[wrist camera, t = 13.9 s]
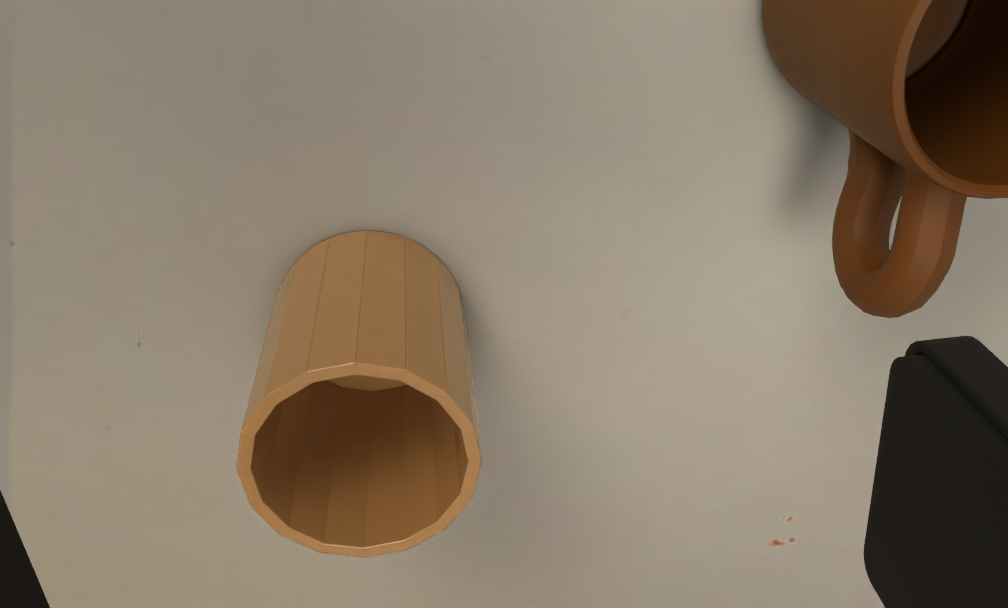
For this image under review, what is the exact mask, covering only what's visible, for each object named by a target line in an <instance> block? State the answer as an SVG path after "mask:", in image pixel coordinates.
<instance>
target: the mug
mask: <svg viewBox="0 0 1008 608" xmlns="http://www.w3.org/2000/svg"><path fill="white" fill-rule="evenodd" d="M762 20H763V29H764V34H765V38H766V42H767V45H768V48H769V50H770V53H771V55H772V57H773V59H774V61H775V63H776V65H777V66H778V68H779V70H780V72H781V73H782V74H783V75H784V77H785V78H786V79H787V80H788V82H789V83H790V84H791V85H792V86H793V87H795V88H796V89H797V90H798V91H799V92H800V93H801V94H802V95H803V96H805V97H806V98H807V99H809V100H810V101H811V102H813V103H814V104H816V105H817V106H819V107H820V108H822V109H823V110H825V111H826V112H827V113H828V114H830V115H831V116H832V117H833V118H834V119H836V120H837V121H838V122H840V123H841V124H843V125H844V126H845V127H847V128H848V129H849V135H850V154H849V160H848V174H847V178H846V181H845V184H844V187H843V190H842V193H841V195H840V198H839V202H838V205H837V209H836V213H835V219H834V224H833V235H832V247H833V258H834V264H835V271H836V274H837V277H838V280H839V283H840V285H841V287H842V289H843V291H844V292H845V294H846V296H847V297H848V298H849V299H850V300H851V301H852V302H853V303H854V304H855V305H856V306H857V307H858V308H860V309H861V310H862V311H863V312H865V313H868V314H870V315H873V316H880V317H887V318H892V317H900V316H902V315H905V314H907V313H909V312H912V311H914V310H916V309H918V308H920V307H922V306H923V305H924V304H925V303H926V302H927V301H928V299H929V298H930V297H931V296H932V295H933V294H934V293H935V292H936V290H937V289H938V288H939V286H940V284H941V282H942V281H943V279H944V277H945V276H946V274H947V272H948V271H949V269H950V266H951V263H952V261H953V258H954V256H955V250H956V245H957V240H958V236H959V231H960V226H961V221H962V216H963V211H964V206H965V202H966V199H967V196H968V197H975V198H984V199H992V198H1008V0H762ZM901 195H902V198H901ZM900 198H901V203H900V209H899V214H898V219H897V224H896V229H895V234H894V239H893V244H892V247H891V250H889V233H890V227H891V223H892V219H893V216H894V213H895V210H896V208H897V205H898V203H899V200H900Z"/></svg>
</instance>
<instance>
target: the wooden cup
mask: <svg viewBox="0 0 1008 608" xmlns="http://www.w3.org/2000/svg"><path fill="white" fill-rule="evenodd" d="M481 464H482V458H481V449H480V441H479V433H478V424H477V416H476V407H475V399H474V391H473V382H472V374H471V365H470V357H469V349H468V340H467V332H466V324H465V317H464V312H463V307H462V301H461V296H460V293H459V289H458V287H457V284H456V282H455V280H454V278H453V276H452V275H451V273H450V272H449V270H448V269H447V267H446V266H445V265H444V264H443V263H442V261H441V260H440V259H439V258H437V257H436V256H435V255H434V254H433V253H432V252H431V251H429V250H428V249H426V248H425V247H423V246H422V245H420V244H418V243H416V242H414V241H412V240H410V239H407V238H405V237H402V236H399V235H395V234H391V233H387V232H379V231H358V232H350V233H345V234H341V235H337V236H334V237H332V238H329V239H327V240H324V241H322V242H321V243H319V244H317V245H315V246H314V247H312V248H311V249H309V250H308V251H307V252H305V253H304V254H303V255H302V256H301V257H300V258H299V259H298V260H297V261H296V262H295V263H294V265H293V266H292V267H291V268H290V270H289V271H288V273H287V275H286V276H285V278H284V280H283V283H282V285H281V287H280V288H279V290H278V293H277V297H276V300H275V304H274V308H273V312H272V316H271V319H270V323H269V327H268V331H267V334H266V338H265V342H264V346H263V350H262V353H261V357H260V361H259V365H258V369H257V372H256V376H255V380H254V384H253V387H252V391H251V395H250V399H249V403H248V406H247V410H246V414H245V418H244V421H243V425H242V429H241V434H240V442H239V450H238V458H237V465H236V469H237V473H238V476H239V478H240V481H241V483H242V486H243V489H244V491H245V494H246V496H247V499H248V502H249V504H250V506H251V507H252V508H253V509H254V510H255V511H256V512H257V513H258V514H259V515H260V516H261V517H262V518H263V519H264V520H265V521H266V522H267V523H268V524H269V525H270V526H271V527H272V528H273V529H274V530H275V531H276V532H277V533H278V534H280V535H281V536H283V537H285V538H288V539H290V540H292V541H294V542H297V543H299V544H301V545H303V546H306V547H308V548H310V549H313V550H315V551H317V552H321V553H327V554H336V555H345V556H355V557H371V556H376V555H381V554H387V553H392V552H397V551H402V550H407V549H408V548H409V549H410V548H412V547H414V546H416V545H417V544H419V543H421V542H423V541H425V540H427V539H428V538H430V537H432V536H434V535H436V534H437V533H439V532H441V531H443V530H445V528H447V527H448V526H449V525H450V524H451V522H452V521H453V520H454V519H455V518H456V516H457V515H458V514H459V513H460V512H461V511H462V509H463V508H464V507H465V506H466V505H467V504H468V502H469V501H470V500H471V498H472V496H473V493H474V489H475V485H476V482H477V478H478V475H479V471H480V467H481Z"/></svg>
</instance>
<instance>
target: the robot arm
mask: <svg viewBox="0 0 1008 608" xmlns="http://www.w3.org/2000/svg"><path fill="white" fill-rule="evenodd" d="M864 562H865V567H866V571H867V574H868V577H869V580H870V582H871V584H872V586H873V588H874V589H875V591H876V593H877V594H878V596H879V598H880V599H881V601H882V603H883V604H884V606H885V608H1008V367H1007V366H1006V365H1005V364H1004V363H1002V362H1001V361H1000V360H999V359H998V358H997V357H996V356H995V355H994V354H993V353H992V352H991V351H989V350H988V349H987V348H986V347H985V346H984V345H983V344H982V343H981V342H980V341H978V340H977V339H975V338H974V337H971V336H960V337H951V338H942V339H933V340H924V341H916V342H914V343H912V344H911V345H910V346H909V348H908V349H907V351H906V354H905V356H904V357H898V358H896V359H895V360H894V361H893V363H892V365H891V369H890V374H889V381H888V388H887V395H886V402H885V408H884V415H883V422H882V429H881V436H880V442H879V449H878V456H877V463H876V470H875V477H874V483H873V490H872V497H871V504H870V511H869V517H868V524H867V531H866V538H865V545H864ZM0 608H50V607H49V604H48V602H47V600H46V597H45V595H44V592H43V590H42V588H41V585H40V583H39V581H38V578H37V576H36V574H35V571H34V569H33V566H32V564H31V562H30V559H29V557H28V555H27V552H26V550H25V548H24V545H23V543H22V540H21V538H20V536H19V533H18V531H17V529H16V526H15V524H14V522H13V519H12V517H11V514H10V512H9V510H8V507H7V505H6V503H5V501H4V498H3V496H2V493H1V491H0Z"/></svg>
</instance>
